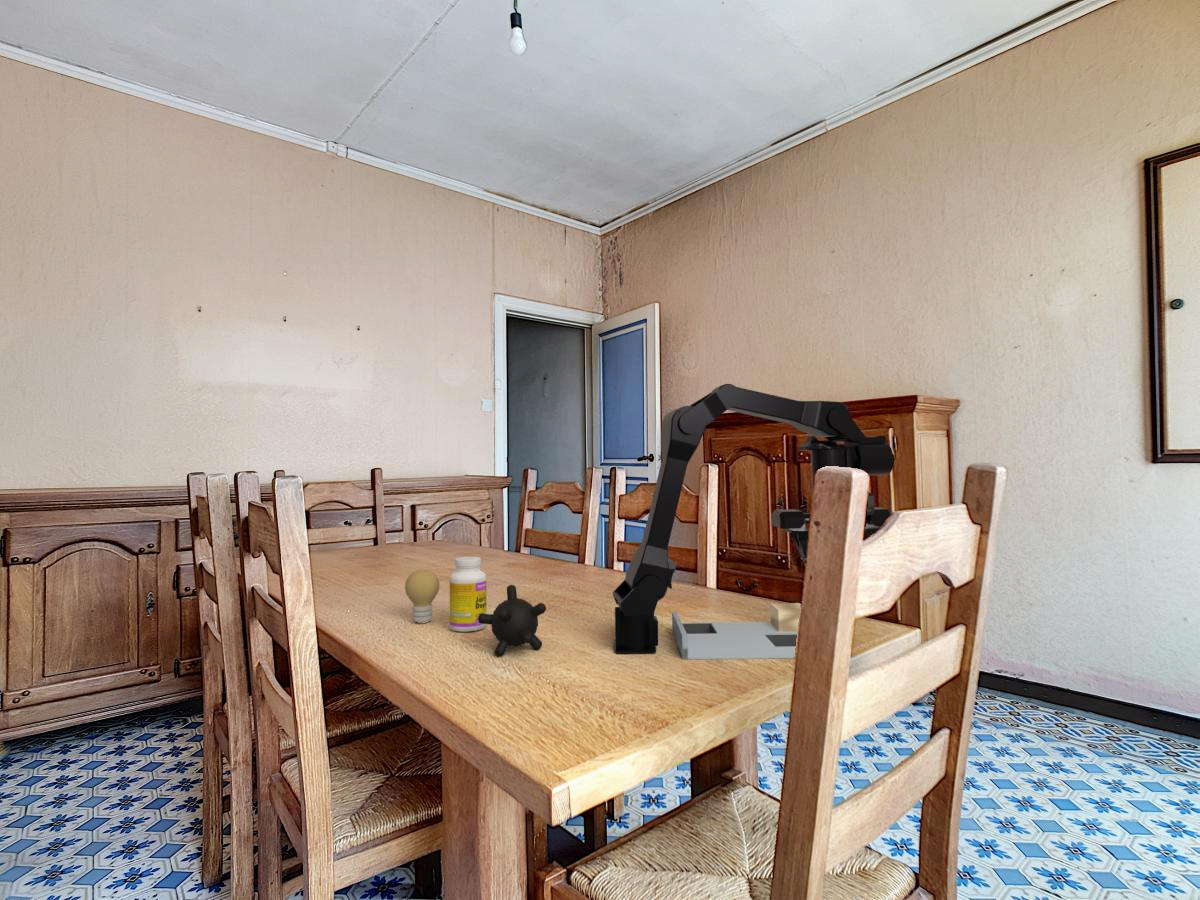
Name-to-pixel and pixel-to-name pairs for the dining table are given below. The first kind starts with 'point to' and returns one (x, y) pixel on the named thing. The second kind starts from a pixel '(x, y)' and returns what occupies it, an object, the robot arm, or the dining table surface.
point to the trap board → (732, 640)
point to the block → (785, 616)
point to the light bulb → (422, 593)
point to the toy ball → (514, 622)
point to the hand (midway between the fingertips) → (832, 569)
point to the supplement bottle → (467, 595)
